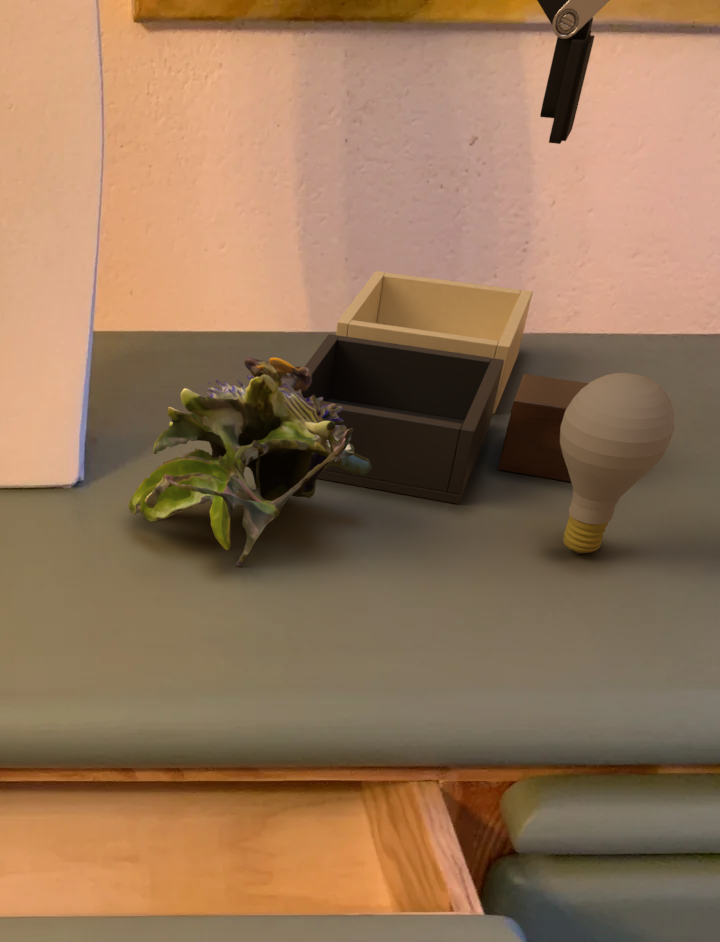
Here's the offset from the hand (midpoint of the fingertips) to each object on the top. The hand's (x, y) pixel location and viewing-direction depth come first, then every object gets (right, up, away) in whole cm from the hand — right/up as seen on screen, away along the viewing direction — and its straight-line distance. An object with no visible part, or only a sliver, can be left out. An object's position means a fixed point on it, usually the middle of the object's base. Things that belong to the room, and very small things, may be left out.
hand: (669, 148), depth 52 cm
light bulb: (+1, -16, +13) cm, 20 cm away
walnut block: (+2, -8, +21) cm, 23 cm away
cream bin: (-2, +2, +32) cm, 32 cm away
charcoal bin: (-8, -7, +23) cm, 25 cm away
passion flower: (-18, -14, +14) cm, 27 cm away
